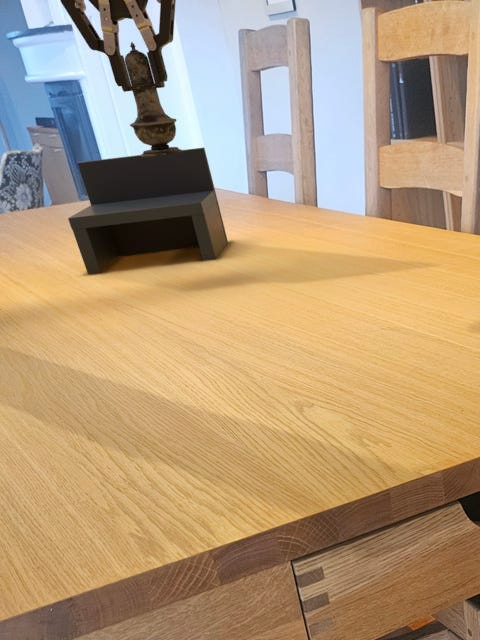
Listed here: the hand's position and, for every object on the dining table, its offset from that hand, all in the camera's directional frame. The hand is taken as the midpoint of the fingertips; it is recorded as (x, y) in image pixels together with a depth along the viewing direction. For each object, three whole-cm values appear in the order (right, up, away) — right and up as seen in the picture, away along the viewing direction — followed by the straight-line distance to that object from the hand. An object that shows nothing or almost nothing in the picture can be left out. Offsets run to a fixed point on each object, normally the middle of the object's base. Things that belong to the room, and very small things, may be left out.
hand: (143, 88), depth 105 cm
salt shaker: (+1, -6, +4) cm, 7 cm away
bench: (-9, -8, +30) cm, 32 cm away
